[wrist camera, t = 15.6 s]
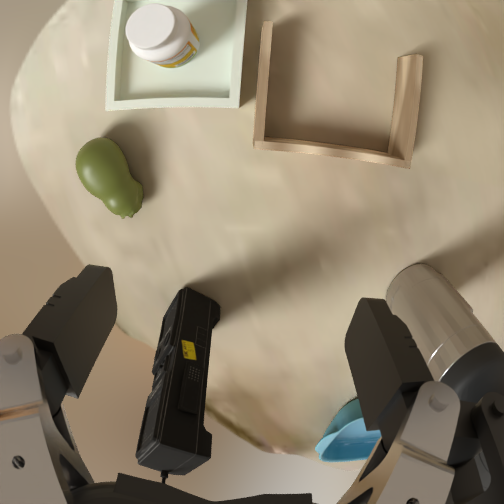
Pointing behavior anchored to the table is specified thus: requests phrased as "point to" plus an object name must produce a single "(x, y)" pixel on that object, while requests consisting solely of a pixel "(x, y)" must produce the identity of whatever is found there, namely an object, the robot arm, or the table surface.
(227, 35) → the plastic tray
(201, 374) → the portable radio
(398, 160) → the frame
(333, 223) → the table surface
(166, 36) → the supplement bottle
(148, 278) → the table surface
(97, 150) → the pear
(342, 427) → the casserole dish
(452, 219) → the table surface
